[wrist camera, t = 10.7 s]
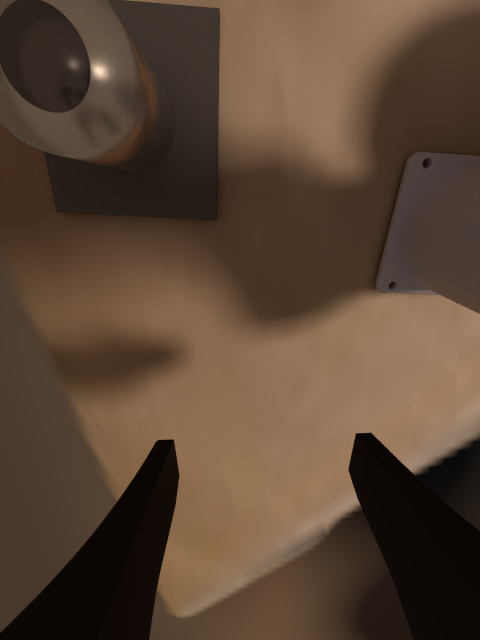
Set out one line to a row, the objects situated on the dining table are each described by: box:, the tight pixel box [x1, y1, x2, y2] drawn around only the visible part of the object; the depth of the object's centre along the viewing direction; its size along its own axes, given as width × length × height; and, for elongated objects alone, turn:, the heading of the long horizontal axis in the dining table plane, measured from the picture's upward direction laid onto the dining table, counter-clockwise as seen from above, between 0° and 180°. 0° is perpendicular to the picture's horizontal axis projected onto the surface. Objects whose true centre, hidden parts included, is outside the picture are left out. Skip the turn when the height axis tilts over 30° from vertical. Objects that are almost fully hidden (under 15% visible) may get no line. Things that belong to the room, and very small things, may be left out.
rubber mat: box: [45, 0, 220, 220], centre depth 15 cm, size 9×9×1 cm
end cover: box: [0, 0, 175, 172], centre depth 11 cm, size 5×5×7 cm
